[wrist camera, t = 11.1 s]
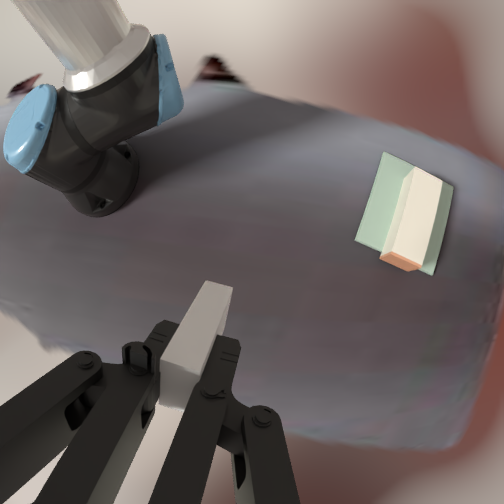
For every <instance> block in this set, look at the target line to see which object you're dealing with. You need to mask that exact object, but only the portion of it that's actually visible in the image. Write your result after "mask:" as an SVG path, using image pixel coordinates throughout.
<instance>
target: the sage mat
mask: <svg viewBox="0 0 504 504" xmlns="http://www.w3.org/2000/svg"><path fill="white" fill-rule="evenodd" d="M414 167H415V166H413V165H411V164H409V163H407V162H405V161H403V160H401V159H399V158H397V157H395V156H392V155H390V154H388V153H386V152H383V154H382V158H381V161H380V165H379V168H378V171H377V175H376V178H375V181H374V184H373V187H372V191H371V194H370V197H369V200H368V203H367V206H366V209H365V212H364V215H363V218H362V221H361V223H360V226H359V229H358V232H357V235H356V238H355V241H357V242H359V243H362V244H364V245H366V246H368V247H371V248H373V249H375V250H377V251H379V252H382V250H383V247H384V244H385V241H386V238H387V235H388V232H389V229H390V225H391V222H392V219H393V216H394V212H395V209H396V205H397V202H398V198H399V195H400V191H401V187H402V184H403V180H404V178H405V177H406V176H407V175H408V174H409V173H410V171H411V170H412V169H413V168H414ZM453 188H454V187H452V186H451V185H449V184H447V183H445V182H442V187H441V193H440V197H439V202H438V207H437V211H436V215H435V220H434V224H433V228H432V232H431V236H430V239H429V243H428V247H427V250H426V254H425V257H424V260H423V264H422V267H421V268H420V269H418V270H421V271H423V272H425V273H427V274H429V275H433V272H434V269H435V266H436V262H437V259H438V255H439V251H440V248H441V244H442V240H443V236H444V232H445V227H446V223H447V218H448V214H449V209H450V204H451V199H452V193H453Z"/></svg>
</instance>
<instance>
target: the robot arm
mask: <svg viewBox="0 0 504 504" xmlns="http://www.w3.org/2000/svg"><path fill="white" fill-rule="evenodd" d="M11 1H12V2H13V4H14V5H15V6H16V7H17V9H19V11H20V12H21V14H22V15H23V16H24V17H25V19H26V20H27V21H28V22H29V24H30V25H31V26H32V27H33V29H34V30H35V31H36V32H37V34H38V35H39V36H40V37H41V38H42V40H43V41H44V42H45V43H46V44H47V46H48V47H49V48H50V50H51V51H52V52H53V53H54V54H55V56H56V57H57V58H58V59H59V60H60V62H61V63H62V64H63V65H64V66H65V72H64V77H63V85H64V86H63V87H61V88H60V89H58V90H56V88H55V87H54V86H53V85H49V84H42V85H39V86H37V87H36V88H34V89H33V90H32V91H30V92H29V93H28V94H27V95H26V96H25V98H24V99H23V100H22V101H21V103H20V104H19V105H18V107H17V108H16V110H15V112H14V113H13V115H12V118H11V119H10V122H9V124H8V127H7V130H6V133H5V137H4V145H3V150H4V156H5V158H6V160H7V162H8V163H9V164H10V165H12V166H13V167H15V168H17V169H18V170H19V171H20V172H21V173H23V174H26V175H28V176H30V177H32V178H34V179H36V180H38V181H40V182H42V183H44V184H46V185H48V186H50V187H52V188H55V189H57V190H59V191H61V192H62V193H63V194H64V195H65V197H66V198H67V199H68V201H69V202H70V203H71V205H72V206H73V207H74V208H75V209H76V210H77V211H79V212H80V213H83V214H85V215H87V216H90V217H102V216H106V215H108V214H110V213H112V212H114V211H115V210H117V209H118V208H119V207H120V206H121V205H123V203H124V202H125V201H126V200H127V199H128V197H129V196H130V194H131V193H132V191H133V189H134V187H135V184H136V182H137V178H138V173H139V161H138V157H137V154H136V152H135V151H134V149H133V148H132V147H131V146H130V145H129V144H128V143H127V142H126V141H125V140H127V139H129V138H131V137H133V136H135V135H137V134H139V133H142V132H144V131H146V130H148V129H151V128H153V127H155V126H159V125H160V124H161V123H162V122H164V121H166V120H168V119H170V118H172V117H174V116H176V115H178V114H179V113H180V111H181V110H182V109H183V106H184V100H183V96H182V93H181V89H180V85H179V82H178V78H177V75H176V71H175V68H174V64H173V60H172V57H171V53H170V49H169V45H168V42H167V39H166V36H165V35H164V34H159V35H153V37H152V36H151V34H150V32H149V30H148V29H147V28H146V27H145V26H144V25H140V24H131V23H129V22H128V20H127V18H126V16H125V14H124V13H123V11H122V9H121V7H120V6H119V4H118V2H117V0H11ZM232 290H233V287H229V286H225V285H221V284H218V283H214V282H210V281H205V283H204V284H203V286H202V288H201V289H200V291H199V293H198V294H197V296H196V298H195V300H194V301H193V303H192V305H191V306H190V308H189V310H188V311H187V313H186V315H185V317H184V318H183V320H182V322H181V323H180V324H177V323H174V322H170V321H167V320H163V321H162V322H160V323H158V324H156V326H155V327H154V329H153V330H152V332H151V333H150V335H149V336H148V338H147V339H146V340H145V342H144V343H143V342H130V343H127V344H125V345H124V346H123V347H122V358H123V364H110V363H103V362H102V361H101V358H100V357H99V356H98V355H97V354H96V353H94V352H91V351H80V352H77V353H75V354H74V355H72V356H71V357H69V358H68V359H67V360H65V361H64V362H62V363H61V364H59V365H58V366H56V367H55V368H54V369H52V370H51V371H49V372H48V373H46V374H45V375H44V376H42V377H41V378H39V379H38V380H37V381H35V382H34V383H32V384H31V385H30V386H28V387H27V388H25V389H24V390H23V391H21V392H20V393H18V394H17V395H15V396H14V397H13V398H11V399H10V400H8V401H7V402H6V403H4V404H3V405H1V406H0V504H3V503H4V502H5V501H6V500H7V499H9V498H10V497H11V496H12V495H13V494H14V493H15V492H17V491H18V490H19V489H20V488H21V487H22V486H23V485H25V484H26V483H27V482H28V481H29V480H30V479H31V478H32V477H34V476H35V475H36V474H37V473H38V472H39V471H40V470H41V469H42V468H44V467H45V466H46V465H47V464H48V463H49V462H50V461H52V459H54V458H55V457H56V456H57V455H58V454H59V453H60V452H61V451H63V450H64V449H65V448H66V447H67V446H68V447H67V449H66V450H65V452H64V453H63V455H62V457H61V458H60V460H59V461H58V463H57V465H56V466H55V468H54V470H53V471H52V473H51V475H50V476H49V478H48V480H47V481H46V483H45V485H44V486H43V488H42V490H41V492H40V493H39V495H38V497H37V498H36V500H35V501H34V502H33V503H32V504H113V503H114V501H115V498H116V496H117V494H118V492H119V489H120V487H121V485H122V483H123V481H124V478H125V476H126V474H127V472H128V469H129V467H130V465H131V463H132V461H133V459H134V457H135V454H136V452H137V450H138V448H139V446H140V444H141V441H142V439H143V437H144V435H145V433H146V431H147V428H148V426H149V424H150V422H151V420H152V418H153V416H154V413H155V404H156V402H157V400H158V398H159V404H160V405H163V406H165V407H168V408H171V409H175V410H178V411H181V412H184V413H183V416H182V418H181V421H180V423H179V426H178V428H177V431H176V433H175V436H174V439H173V441H172V444H171V447H170V449H169V452H168V454H167V457H166V459H165V462H164V465H163V467H162V469H161V472H160V475H159V477H158V480H157V482H156V485H155V488H154V490H153V493H152V495H151V498H150V501H149V503H148V504H201V500H202V497H203V493H204V489H205V486H206V482H207V478H208V474H209V471H210V467H211V463H212V460H213V455H214V452H215V448H216V445H218V446H220V447H222V448H224V449H226V450H227V451H229V452H231V461H232V471H233V482H234V491H235V500H236V504H300V500H299V496H298V492H297V488H296V483H295V480H294V475H293V471H292V466H291V462H290V458H289V454H288V449H287V445H286V441H285V436H284V432H283V428H282V423H281V419H280V417H279V415H278V414H277V413H276V412H275V411H274V410H273V409H271V408H269V407H267V406H261V405H258V406H253V407H251V408H249V407H247V406H245V405H243V404H241V403H240V402H238V401H237V400H236V399H235V398H234V396H233V394H232V391H231V386H232V382H233V378H234V374H235V370H236V366H237V362H238V358H239V354H240V350H241V346H240V344H239V341H238V340H236V339H233V338H229V337H225V336H222V333H223V330H224V327H225V323H226V318H227V313H228V309H229V304H230V300H231V295H232Z"/></svg>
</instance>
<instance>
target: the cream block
mask: <svg viewBox="0 0 504 504" xmlns="http://www.w3.org/2000/svg"><path fill="white" fill-rule="evenodd" d="M442 182H443V181H442V180H440V179H438V178H436V177H435V176H433V175H431V174H429V173H427V172H425V171H423V170H421V169H419V168H417V167H414V168H413V169H412V170H411V171H410V173H409V174H408V175H407V176H406V177H405V178H404V180H403V184H402V187H401V191H400V195H399V198H398V202H397V205H396V209H395V212H394V216H393V219H392V222H391V225H390V229H389V232H388V235H387V238H386V241H385V244H384V247H383V250H382V253H381V256H380V259H381V260H383V261H386V262H388V263H390V264H392V265H395V266H397V267H399V268H401V269H403V270H405V271H411V270H416V269H420V268H421V267H422V264H423V260H424V257H425V254H426V250H427V247H428V243H429V239H430V236H431V232H432V228H433V224H434V220H435V215H436V211H437V207H438V202H439V197H440V193H441V187H442Z"/></svg>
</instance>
